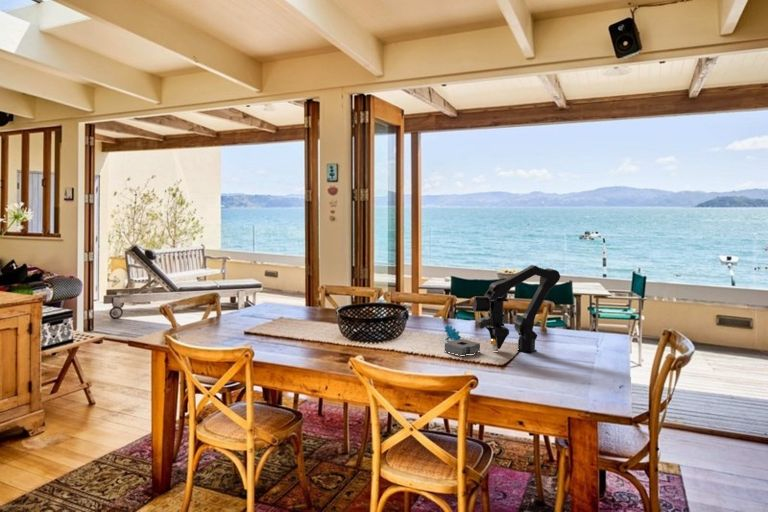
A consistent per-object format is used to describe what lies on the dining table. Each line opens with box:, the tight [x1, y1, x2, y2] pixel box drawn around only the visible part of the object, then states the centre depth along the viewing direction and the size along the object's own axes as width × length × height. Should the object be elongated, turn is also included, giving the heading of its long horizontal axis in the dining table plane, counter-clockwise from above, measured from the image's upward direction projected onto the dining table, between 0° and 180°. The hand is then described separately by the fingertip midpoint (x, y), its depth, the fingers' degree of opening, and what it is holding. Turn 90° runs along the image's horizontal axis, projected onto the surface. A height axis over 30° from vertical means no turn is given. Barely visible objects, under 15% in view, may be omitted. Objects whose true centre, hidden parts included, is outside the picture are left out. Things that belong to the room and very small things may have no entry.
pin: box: [490, 338, 499, 352], centre depth 218 cm, size 4×4×6 cm
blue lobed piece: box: [444, 324, 462, 341], centre depth 237 cm, size 11×6×10 cm
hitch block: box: [444, 338, 481, 355], centre depth 217 cm, size 12×12×4 cm
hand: (495, 345), depth 218 cm, fingers open, 9 cm apart
